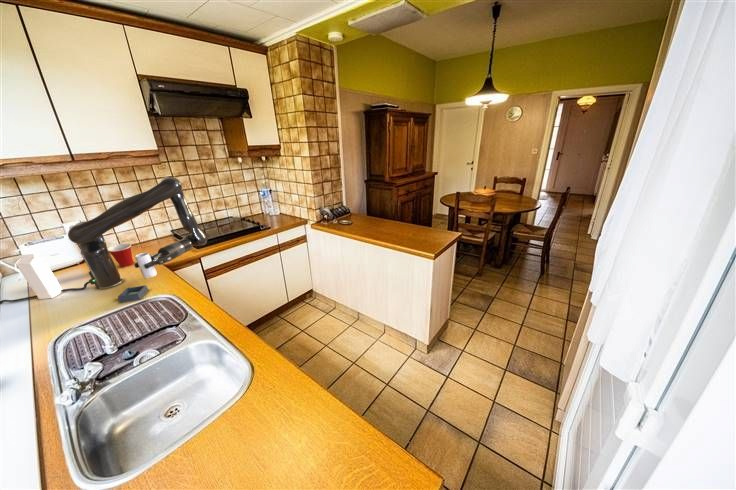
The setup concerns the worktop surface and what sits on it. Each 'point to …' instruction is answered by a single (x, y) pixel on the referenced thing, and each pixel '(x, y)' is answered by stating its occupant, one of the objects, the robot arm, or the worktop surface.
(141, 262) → the tumbler
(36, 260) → the milk
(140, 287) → the dark square dish
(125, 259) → the plastic cup
